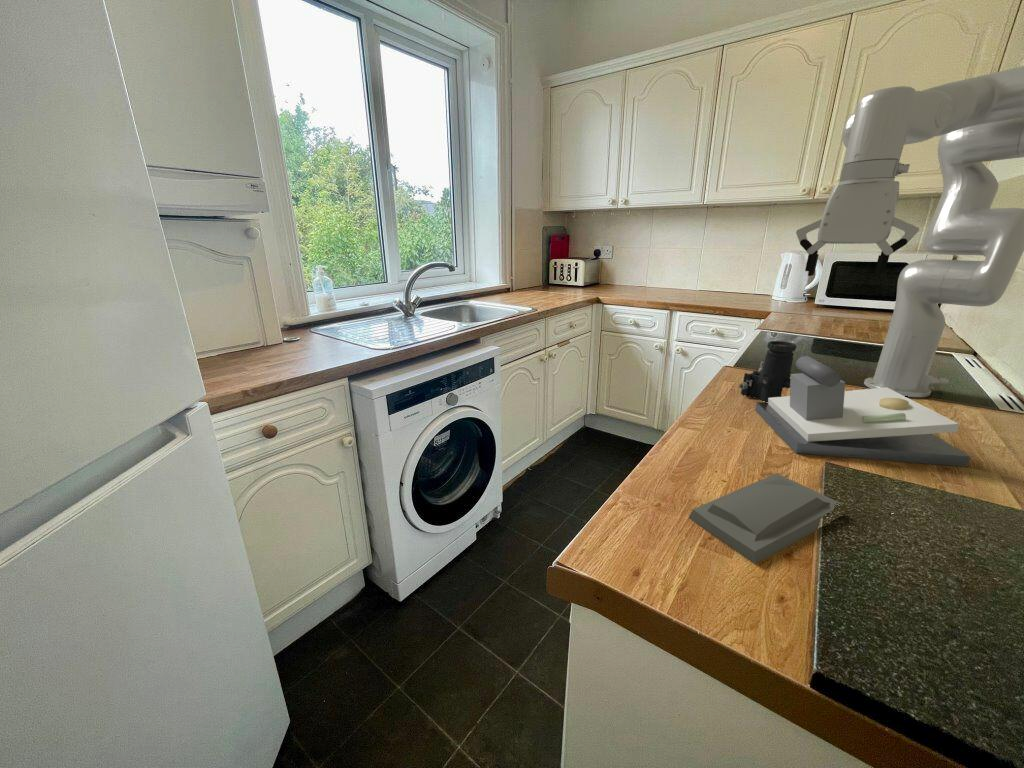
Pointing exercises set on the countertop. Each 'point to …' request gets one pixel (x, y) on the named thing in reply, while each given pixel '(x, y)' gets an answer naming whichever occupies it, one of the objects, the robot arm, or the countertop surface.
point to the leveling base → (868, 444)
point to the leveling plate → (851, 408)
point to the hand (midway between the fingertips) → (841, 276)
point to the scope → (770, 372)
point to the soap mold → (764, 516)
